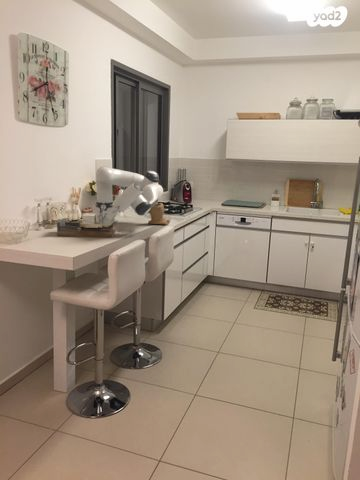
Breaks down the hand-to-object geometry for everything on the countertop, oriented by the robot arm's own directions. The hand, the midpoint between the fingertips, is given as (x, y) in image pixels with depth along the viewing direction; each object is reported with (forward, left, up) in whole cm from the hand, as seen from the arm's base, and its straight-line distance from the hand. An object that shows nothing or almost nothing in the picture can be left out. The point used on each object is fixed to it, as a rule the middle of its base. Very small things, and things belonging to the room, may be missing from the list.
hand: (103, 221), depth 246 cm
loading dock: (-1, -10, -9) cm, 13 cm away
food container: (-19, -2, -9) cm, 21 cm away
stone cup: (-44, +33, -9) cm, 56 cm away
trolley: (-1, -7, -5) cm, 9 cm away
